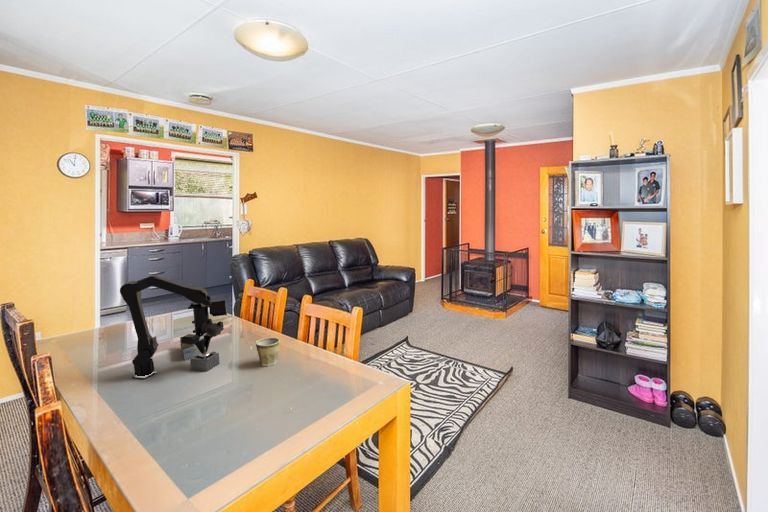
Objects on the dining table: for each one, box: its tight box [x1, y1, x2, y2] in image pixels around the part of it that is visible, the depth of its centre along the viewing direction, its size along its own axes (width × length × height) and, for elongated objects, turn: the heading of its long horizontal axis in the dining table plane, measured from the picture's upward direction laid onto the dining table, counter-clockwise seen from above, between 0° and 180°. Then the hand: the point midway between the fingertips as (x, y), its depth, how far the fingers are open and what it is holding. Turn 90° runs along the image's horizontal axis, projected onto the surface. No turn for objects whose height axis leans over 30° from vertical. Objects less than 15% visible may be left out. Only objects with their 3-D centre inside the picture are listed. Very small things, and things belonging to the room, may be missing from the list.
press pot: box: [189, 351, 221, 372], centre depth 168 cm, size 10×8×5 cm
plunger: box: [199, 346, 210, 359], centre depth 166 cm, size 5×5×9 cm
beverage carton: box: [179, 336, 201, 361], centre depth 184 cm, size 8×19×7 cm, turn 30°
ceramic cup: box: [255, 337, 280, 367], centre depth 170 cm, size 13×10×10 cm
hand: (204, 352), depth 166 cm, fingers closed on plunger, 2 cm apart
